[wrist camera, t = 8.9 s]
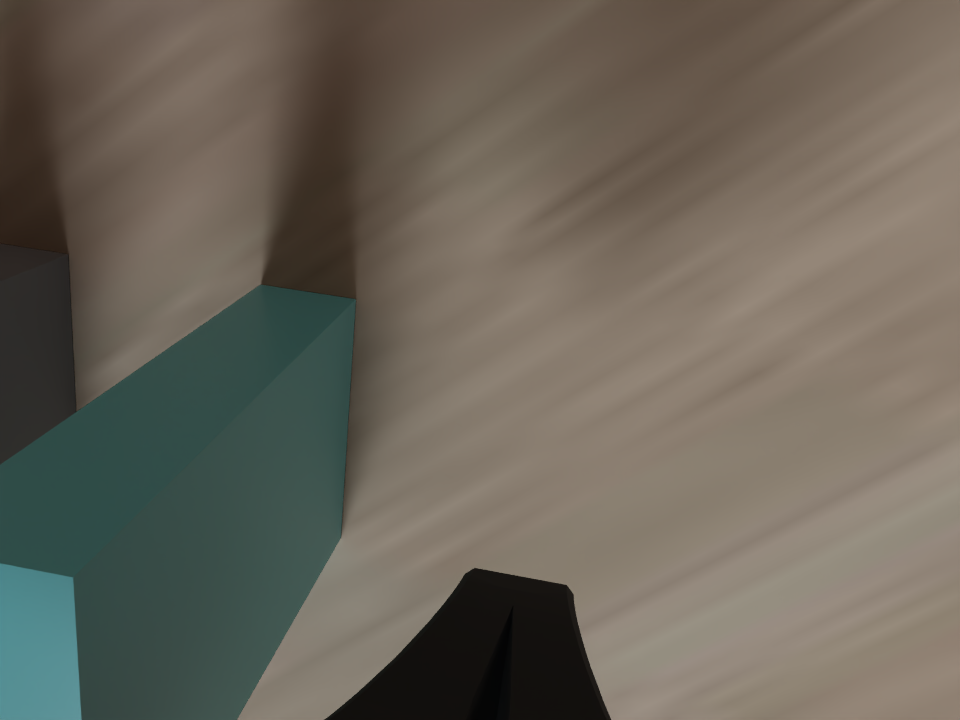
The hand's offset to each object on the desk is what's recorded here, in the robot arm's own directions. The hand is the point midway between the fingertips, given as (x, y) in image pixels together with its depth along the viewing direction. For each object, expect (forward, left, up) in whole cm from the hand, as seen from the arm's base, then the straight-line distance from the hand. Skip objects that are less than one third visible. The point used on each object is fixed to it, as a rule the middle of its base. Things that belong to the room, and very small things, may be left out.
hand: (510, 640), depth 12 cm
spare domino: (0, +5, -5) cm, 7 cm away
